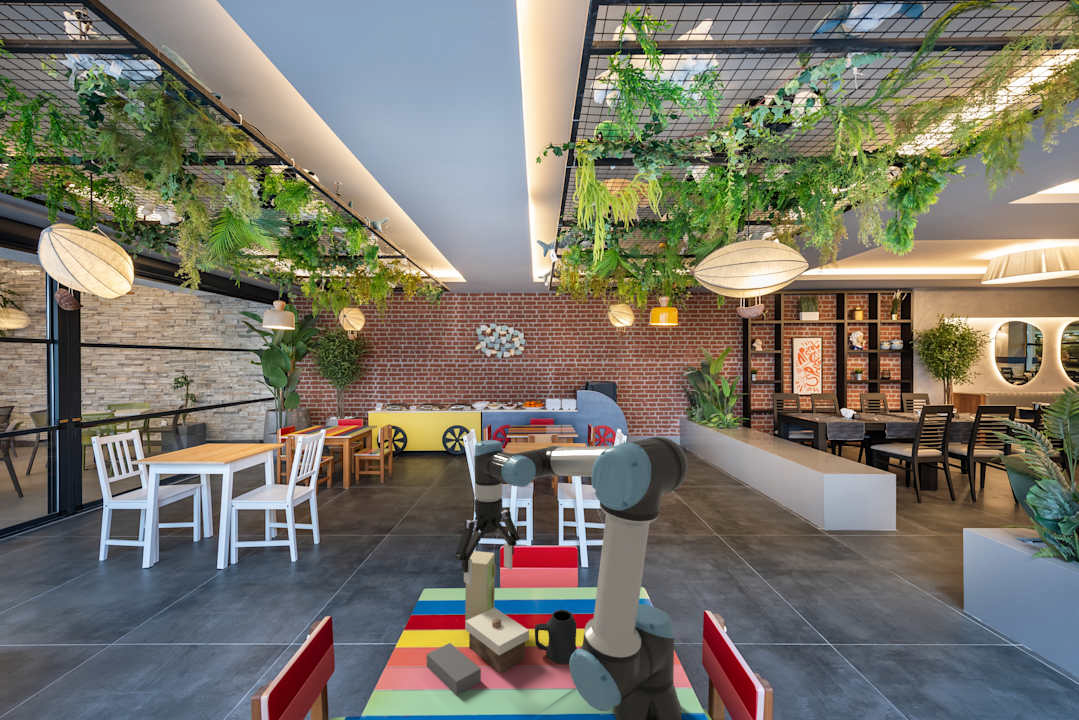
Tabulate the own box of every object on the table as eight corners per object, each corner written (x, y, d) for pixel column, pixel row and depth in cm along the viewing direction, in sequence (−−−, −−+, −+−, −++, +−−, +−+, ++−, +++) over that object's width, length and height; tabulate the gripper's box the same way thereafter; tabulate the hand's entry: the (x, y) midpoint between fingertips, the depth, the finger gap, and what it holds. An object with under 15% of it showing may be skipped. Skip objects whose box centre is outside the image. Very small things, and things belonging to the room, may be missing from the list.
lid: (528, 639, 125) (528, 625, 125) (498, 655, 119) (499, 641, 119) (494, 615, 137) (494, 603, 136) (465, 629, 130) (465, 616, 130)
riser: (480, 684, 117) (480, 668, 117) (456, 698, 112) (456, 681, 112) (450, 657, 127) (450, 642, 127) (426, 669, 122) (426, 653, 122)
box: (524, 662, 125) (524, 639, 125) (500, 676, 120) (500, 652, 120) (492, 638, 136) (492, 618, 135) (469, 650, 130) (469, 628, 130)
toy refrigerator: (488, 636, 137) (489, 564, 136) (464, 633, 138) (464, 561, 138) (496, 621, 145) (497, 552, 144) (473, 618, 146) (474, 550, 146)
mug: (576, 645, 133) (577, 605, 132) (581, 667, 124) (581, 624, 123) (534, 646, 132) (534, 606, 132) (535, 668, 123) (535, 625, 123)
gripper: (514, 486, 141) (514, 557, 141) (441, 504, 124) (441, 585, 124) (531, 491, 135) (531, 565, 136) (457, 511, 118) (457, 595, 119)
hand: (488, 575), depth 130 cm, fingers open, 13 cm apart
